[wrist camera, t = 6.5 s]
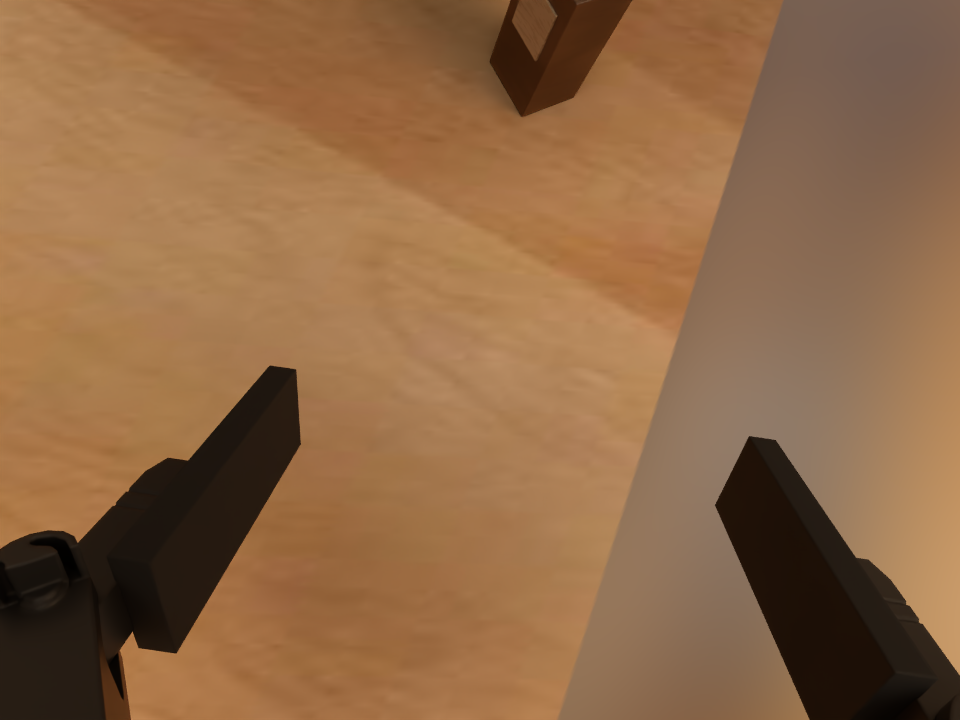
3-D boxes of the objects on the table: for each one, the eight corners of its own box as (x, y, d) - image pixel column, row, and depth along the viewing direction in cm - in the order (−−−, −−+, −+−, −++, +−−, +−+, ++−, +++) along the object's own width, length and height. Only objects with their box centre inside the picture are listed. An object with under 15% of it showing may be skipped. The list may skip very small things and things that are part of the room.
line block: (519, 118, 38) (574, 5, 29) (487, 62, 39) (531, -69, 29) (573, 97, 40) (642, -17, 30) (542, 43, 40) (600, -86, 31)
